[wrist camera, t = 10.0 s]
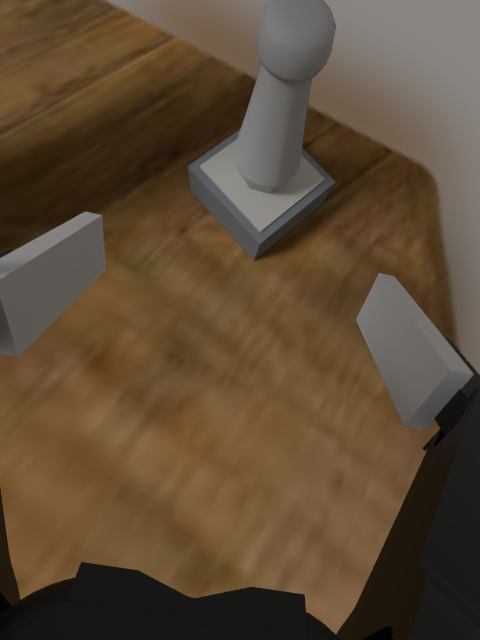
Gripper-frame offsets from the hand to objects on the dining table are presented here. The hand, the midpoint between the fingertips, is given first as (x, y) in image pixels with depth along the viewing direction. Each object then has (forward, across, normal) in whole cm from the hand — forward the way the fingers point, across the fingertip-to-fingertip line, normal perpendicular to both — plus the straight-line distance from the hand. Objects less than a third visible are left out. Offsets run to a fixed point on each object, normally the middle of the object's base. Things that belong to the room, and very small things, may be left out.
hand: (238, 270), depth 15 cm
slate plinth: (+21, +1, -1) cm, 21 cm away
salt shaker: (+18, +1, +2) cm, 18 cm away
